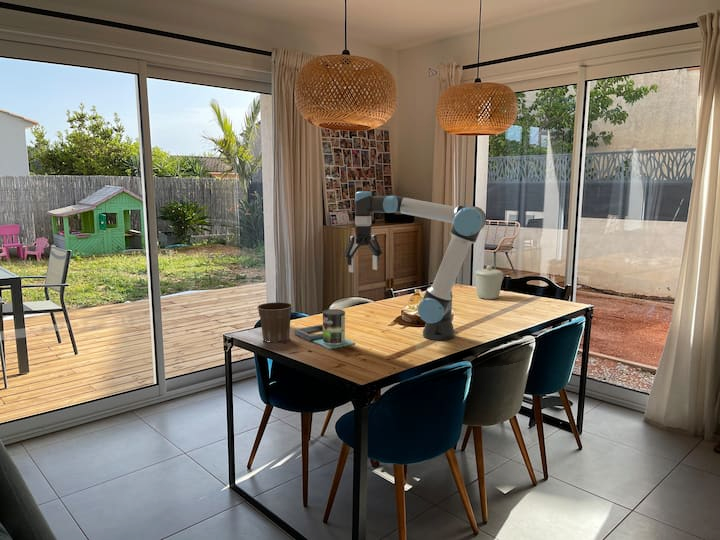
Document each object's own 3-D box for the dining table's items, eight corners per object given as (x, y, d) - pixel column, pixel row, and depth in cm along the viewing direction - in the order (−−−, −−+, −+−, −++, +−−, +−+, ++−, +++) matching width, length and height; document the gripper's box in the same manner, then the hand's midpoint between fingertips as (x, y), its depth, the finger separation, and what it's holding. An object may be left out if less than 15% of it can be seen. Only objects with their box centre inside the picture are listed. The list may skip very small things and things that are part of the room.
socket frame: (321, 329, 270) (321, 324, 269) (338, 336, 257) (338, 331, 257) (294, 334, 261) (294, 329, 261) (310, 341, 249) (310, 336, 248)
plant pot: (253, 343, 246) (252, 309, 243) (264, 334, 262) (263, 301, 259) (288, 345, 244) (287, 310, 241) (297, 335, 259) (296, 302, 257)
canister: (473, 294, 355) (474, 263, 352) (501, 295, 352) (502, 263, 349) (474, 300, 338) (475, 267, 334) (503, 301, 335) (505, 267, 331)
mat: (338, 337, 256) (338, 336, 256) (355, 344, 245) (355, 342, 245) (313, 342, 248) (313, 340, 248) (329, 349, 237) (329, 348, 237)
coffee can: (333, 346, 239) (333, 315, 237) (318, 341, 246) (317, 311, 244) (350, 341, 246) (349, 311, 244) (334, 337, 254) (334, 308, 251)
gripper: (379, 223, 259) (379, 267, 262) (335, 226, 245) (336, 272, 248) (389, 224, 253) (389, 269, 256) (345, 227, 239) (345, 274, 242)
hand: (363, 270), depth 252 cm, fingers open, 13 cm apart
